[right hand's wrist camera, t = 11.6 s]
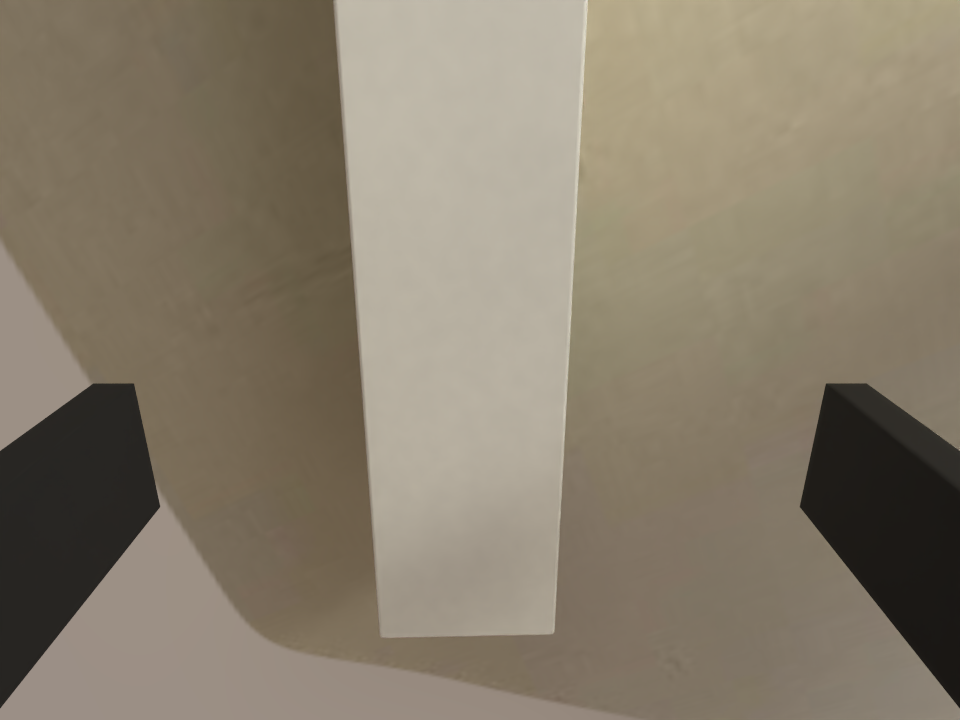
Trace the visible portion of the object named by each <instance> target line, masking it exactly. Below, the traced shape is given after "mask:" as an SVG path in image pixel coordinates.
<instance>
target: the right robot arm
mask: <svg viewBox="0 0 960 720" xmlns="http://www.w3.org/2000/svg"><path fill="white" fill-rule="evenodd" d="M159 508H160V504H159V499H158V495H157V490H156V485H155V480H154V476H153V471H152V466H151V462H150V457H149V452H148V448H147V443H146V438H145V433H144V429H143V424H142V419H141V415H140V410H139V405H138V401H137V396H136V391H135V386H134V384H92V385H91V386H90V387H88V388H87V389H85V390H84V391H83V392H81V393H80V394H78V395H77V396H76V397H74V398H73V399H72V400H70V401H69V402H67V403H66V404H65V405H63V406H62V407H61V408H59V409H58V410H56V411H55V412H54V413H52V414H51V415H49V416H48V417H47V418H45V419H44V420H43V421H41V422H40V423H38V424H37V425H36V426H34V427H33V428H31V429H30V430H29V431H27V432H26V433H25V434H23V435H22V436H20V437H19V438H18V439H16V440H15V441H13V442H12V443H11V444H9V445H8V446H7V447H5V448H4V449H2V450H1V451H0V708H1V707H2V705H3V704H4V703H5V702H6V700H7V699H8V698H9V697H10V695H11V694H12V693H13V692H14V690H15V689H16V688H17V686H18V685H19V684H20V683H21V681H22V680H23V679H24V678H25V676H26V675H27V674H28V673H29V671H30V670H31V669H32V668H33V666H34V665H35V664H36V663H37V661H38V660H39V659H40V658H41V656H42V655H43V654H44V652H45V651H46V650H47V649H48V647H49V646H50V645H51V644H52V642H53V641H54V640H55V639H56V637H57V636H58V635H59V634H60V632H61V631H62V630H63V629H64V627H65V626H66V625H67V623H68V622H69V621H70V620H71V618H72V617H73V616H74V615H75V613H76V612H77V611H78V610H79V608H80V607H81V606H82V605H83V603H84V602H85V601H86V600H87V598H88V597H89V596H90V595H91V593H92V592H93V591H94V589H95V588H96V587H97V586H98V584H99V583H100V582H101V581H102V579H103V578H104V577H105V576H106V574H107V573H108V572H109V571H110V569H111V568H112V567H113V566H114V564H115V563H116V562H117V561H118V559H119V558H120V557H121V556H122V554H123V553H124V552H125V550H126V549H127V548H128V547H129V545H130V544H131V543H132V542H133V540H134V539H135V538H136V537H137V535H138V534H139V533H140V532H141V530H142V529H143V528H144V527H145V525H146V524H147V523H148V522H149V520H150V519H151V518H152V516H153V515H154V514H155V513H156V511H157V510H158V509H159ZM800 508H801V509H802V510H803V511H804V513H805V514H806V515H807V516H808V518H809V519H810V520H811V522H812V523H813V524H814V525H815V527H816V528H817V529H818V530H819V532H820V533H821V534H822V535H823V537H824V538H825V539H826V540H827V542H828V543H829V544H830V545H831V547H832V548H833V549H834V550H835V552H836V553H837V554H838V556H839V557H840V558H841V559H842V561H843V562H844V563H845V564H846V566H847V567H848V568H849V569H850V571H851V572H852V573H853V574H854V576H855V577H856V578H857V579H858V581H859V582H860V583H861V584H862V586H863V587H864V588H865V590H866V591H867V592H868V593H869V595H870V596H871V597H872V598H873V600H874V601H875V602H876V603H877V605H878V606H879V607H880V608H881V610H882V611H883V612H884V613H885V615H886V616H887V617H888V618H889V620H890V621H891V622H892V624H893V625H894V626H895V627H896V629H897V630H898V631H899V632H900V634H901V635H902V636H903V637H904V639H905V640H906V641H907V642H908V644H909V645H910V646H911V647H912V649H913V650H914V651H915V652H916V654H917V655H918V656H919V658H920V659H921V660H922V661H923V663H924V664H925V665H926V666H927V668H928V669H929V670H930V671H931V673H932V674H933V675H934V676H935V678H936V679H937V680H938V681H939V683H940V684H941V685H942V686H943V688H944V689H945V690H946V692H947V693H948V694H949V695H950V697H951V698H952V699H953V700H954V702H955V703H956V704H957V705H958V707H959V708H960V451H959V450H958V449H956V448H955V447H953V446H952V445H951V444H949V443H948V442H947V441H945V440H944V439H942V438H941V437H940V436H938V435H937V434H935V433H934V432H933V431H931V430H930V429H929V428H927V427H926V426H924V425H923V424H922V423H920V422H919V421H917V420H916V419H915V418H913V417H912V416H911V415H909V414H908V413H906V412H905V411H904V410H902V409H901V408H900V407H898V406H897V405H895V404H894V403H893V402H891V401H890V400H888V399H887V398H886V397H884V396H883V395H882V394H880V393H879V392H877V391H876V390H875V389H873V388H872V387H870V386H869V385H868V384H826V386H825V391H824V396H823V401H822V405H821V410H820V415H819V419H818V424H817V429H816V433H815V438H814V443H813V448H812V452H811V457H810V462H809V466H808V471H807V476H806V480H805V485H804V490H803V495H802V499H801V504H800Z"/></svg>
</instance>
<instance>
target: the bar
mask: <svg viewBox="0 0 960 720" xmlns="http://www.w3.org/2000/svg"><path fill="white" fill-rule="evenodd" d="M333 6H334V20H335V34H336V47H337V61H338V75H339V88H340V102H341V115H342V129H343V143H344V156H345V170H346V184H347V197H348V211H349V224H350V238H351V252H352V265H353V279H354V293H355V306H356V320H357V334H358V347H359V361H360V374H361V388H362V402H363V415H364V429H365V443H366V456H367V470H368V483H369V497H370V511H371V524H372V538H373V552H374V565H375V579H376V593H377V606H378V620H379V633H380V637H381V638H415V637H464V636H513V635H552V634H553V633H554V631H555V612H556V593H557V574H558V555H559V536H560V517H561V498H562V479H563V460H564V441H565V422H566V404H567V385H568V366H569V347H570V328H571V309H572V290H573V271H574V252H575V233H576V214H577V195H578V176H579V158H580V139H581V120H582V101H583V82H584V63H585V44H586V25H587V6H588V0H333Z"/></svg>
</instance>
